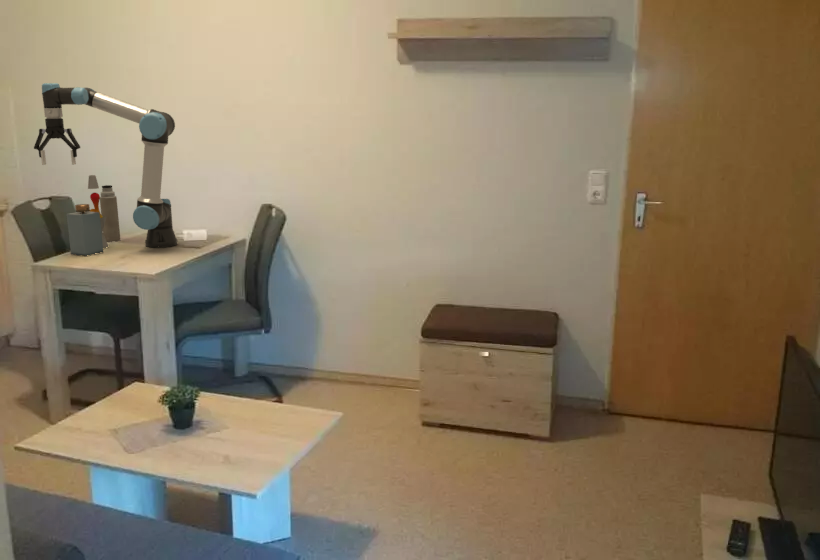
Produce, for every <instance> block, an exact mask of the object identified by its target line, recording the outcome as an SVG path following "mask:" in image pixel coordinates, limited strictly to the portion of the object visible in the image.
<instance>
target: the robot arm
mask: <svg viewBox="0 0 820 560" xmlns="http://www.w3.org/2000/svg"><path fill="white" fill-rule="evenodd" d="M41 96H42V102H43V112H44V118H45V119H44V120H45V128H39V129H38V135H37V138H36V141H35V143H34V146H33V149H34V150H37V151H38V156H39V158H41V165H42V166H44V165H45V166H46V165H47V159H46V150H45V147H46V145H48V143H49V141H51V139H53V140H54V139H58V140H62V141H63V142H64V144H66V145H67V146H68V147H69V148H70V149H71V150H70V158H71V160H70V161H71V165H76V164H77V162H76V158H77V157H78V154H77V153H78V152H77V150H79V149H81V145H80V144H79V142H78V141H77V139H76V137H75V135H74V134H73V131H72V128H65V126H64V119H63V108H62V107H63V106H62V105H72V106H73V105H75V106H77V105H78V106H79V105H85V106H88V107H91V108H94V109H98V110H101V111H103V112H106V113H109V114H111V115H114V116H117V117H120V118H123V119H125V120H127V121H131V122H134V123H136V124H138V128H139V129H138V130H139V132H140V133H141V140H140V141H141V142H142V144H143V145H144V151H143V161H142V163H143V165H142V175H141V176H142V177H141V178H142V179H141V190H140V191H141V192H140V193H141V194H140V196H139V197H137V199H136V207H135V209H134V210H133V213H132V220H133V222H134V224H135V225H136V226H137V227H138V228H140V229H142V230H147V231H146V232H147V233H146V239H145V242H144V243H145V244H144V246H145V247H146V246H147V248H154V247H160V248H168V247H174V246H177V245H178V238H177V237H176V234H175V231H174V228H173V217H172V215H173V213H172V203H171V200H170V198H161V193H162V191H161V190H162V182H163V181H162V179H163V178H162V177H163V169H164V168H163V165H164V151H165V147H166V146H167V145H168V144H169V136H171V135H172V134H173V132H174V131H175V127H176V123H175V120H174V117H172V116H171V114H169V113H167V112H164V111H159V110H156V109H153V108H151V109H146V108H144V107H141V106H139V105H136V104H132V103H130V102H126V101H125V100H121V99H118V98H116V97H113V96H111V95H107V94H105V93H101V92H98V91H96V90H94V89H92V88H89V87H78V86H77V87H60V84H59V83H57V82H55V83H54V82H53V83H52V82H49V83H48V82H47V83H46V82H45V83H42V84H41ZM65 133H66V134H67V135H68V137H69V138H68V137H67V136H66V134H65ZM45 134H47V135H46V136H45V138H44V135H45ZM154 249H155V248H154Z"/></svg>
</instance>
